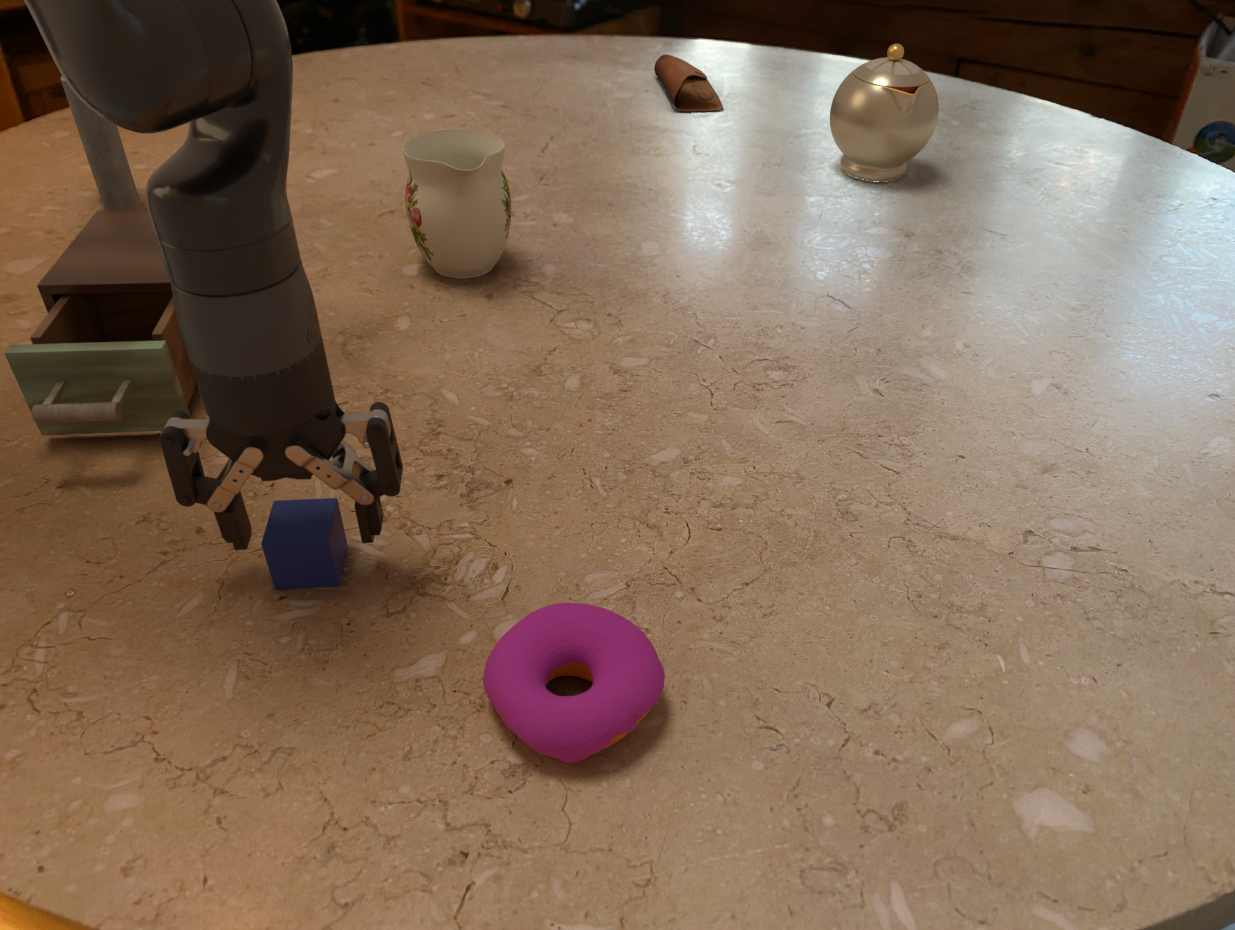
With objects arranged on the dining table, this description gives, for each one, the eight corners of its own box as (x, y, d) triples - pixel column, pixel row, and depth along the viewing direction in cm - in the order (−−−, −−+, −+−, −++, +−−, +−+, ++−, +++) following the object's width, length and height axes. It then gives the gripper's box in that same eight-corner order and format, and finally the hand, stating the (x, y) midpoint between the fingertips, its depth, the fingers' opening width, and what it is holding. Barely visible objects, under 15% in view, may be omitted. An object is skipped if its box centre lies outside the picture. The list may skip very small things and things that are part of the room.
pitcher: (492, 221, 112) (484, 104, 103) (531, 291, 99) (526, 163, 90) (399, 232, 109) (383, 113, 101) (427, 306, 96) (412, 175, 87)
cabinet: (224, 379, 85) (196, 281, 79) (76, 383, 84) (36, 285, 78) (257, 298, 96) (235, 208, 90) (128, 302, 95) (96, 210, 89)
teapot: (941, 192, 122) (974, 60, 112) (841, 196, 120) (865, 62, 110) (891, 142, 136) (916, 21, 126) (800, 145, 134) (818, 22, 124)
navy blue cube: (274, 589, 65) (260, 543, 62) (285, 545, 68) (273, 500, 66) (339, 586, 65) (328, 540, 63) (347, 542, 69) (337, 497, 66)
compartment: (173, 466, 74) (143, 382, 69) (18, 472, 73) (-24, 387, 68) (226, 343, 88) (205, 266, 83) (97, 347, 87) (68, 269, 82)
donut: (462, 681, 59) (456, 633, 56) (595, 613, 64) (595, 565, 61) (550, 803, 53) (548, 756, 50) (690, 717, 58) (696, 669, 55)
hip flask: (101, 192, 116) (42, 18, 103) (136, 186, 118) (83, 14, 105) (115, 244, 105) (52, 56, 93) (154, 237, 107) (97, 52, 94)
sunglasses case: (727, 107, 144) (709, 69, 140) (687, 132, 146) (668, 95, 142) (702, 72, 158) (684, 36, 154) (666, 95, 160) (647, 60, 156)
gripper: (383, 302, 59) (414, 498, 69) (147, 309, 57) (214, 508, 68) (370, 367, 53) (406, 571, 63) (107, 377, 52) (187, 583, 62)
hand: (307, 538), depth 65 cm, fingers open, 8 cm apart
